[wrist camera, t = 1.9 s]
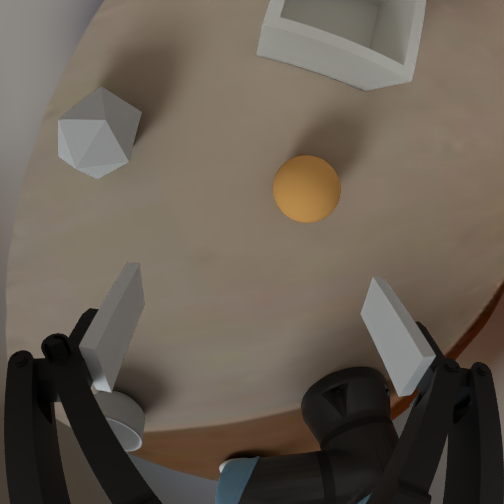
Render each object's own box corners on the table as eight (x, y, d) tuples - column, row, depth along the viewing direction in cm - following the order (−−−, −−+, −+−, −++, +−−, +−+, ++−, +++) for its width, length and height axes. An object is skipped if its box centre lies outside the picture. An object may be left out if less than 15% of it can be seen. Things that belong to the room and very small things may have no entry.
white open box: (385, 6, 23) (428, -22, 14) (365, 91, 27) (411, 81, 18) (284, -30, 21) (298, -77, 12) (256, 55, 26) (262, 24, 17)
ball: (337, 162, 30) (359, 172, 24) (319, 218, 33) (336, 239, 27) (279, 145, 30) (288, 149, 24) (263, 203, 32) (267, 222, 26)
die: (75, 113, 27) (33, 173, 23) (104, 60, 22) (51, 116, 17) (129, 146, 32) (98, 209, 27) (167, 101, 27) (133, 165, 22)
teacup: (90, 374, 42) (74, 409, 35) (150, 391, 44) (140, 429, 36) (99, 418, 48) (88, 448, 40) (150, 432, 49) (143, 465, 41)
